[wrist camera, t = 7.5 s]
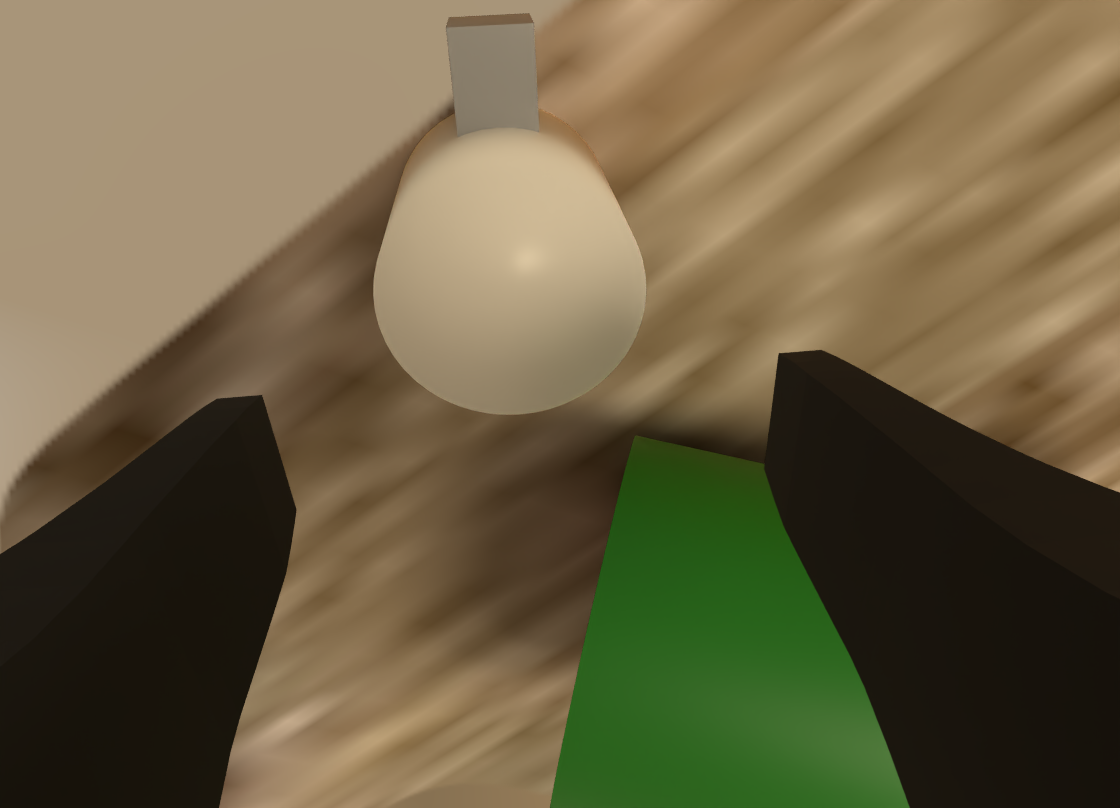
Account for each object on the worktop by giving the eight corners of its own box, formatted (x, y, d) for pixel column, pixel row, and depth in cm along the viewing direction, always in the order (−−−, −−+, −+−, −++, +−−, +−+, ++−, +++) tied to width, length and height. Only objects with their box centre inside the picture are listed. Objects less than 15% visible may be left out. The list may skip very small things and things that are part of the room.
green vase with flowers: (587, 673, 26) (1226, 849, 23) (519, 921, 18) (1493, 1240, 15) (645, 399, 23) (1411, 567, 20) (592, 552, 14) (1896, 881, 11)
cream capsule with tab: (607, 5, 16) (653, 37, 12) (608, 300, 20) (643, 404, 16) (367, 17, 16) (327, 55, 12) (413, 314, 20) (395, 424, 15)
